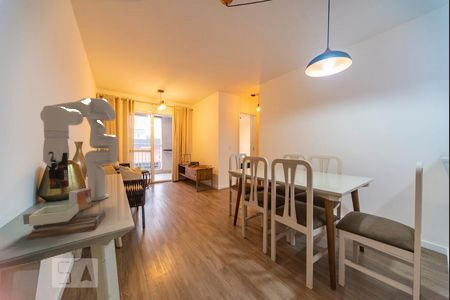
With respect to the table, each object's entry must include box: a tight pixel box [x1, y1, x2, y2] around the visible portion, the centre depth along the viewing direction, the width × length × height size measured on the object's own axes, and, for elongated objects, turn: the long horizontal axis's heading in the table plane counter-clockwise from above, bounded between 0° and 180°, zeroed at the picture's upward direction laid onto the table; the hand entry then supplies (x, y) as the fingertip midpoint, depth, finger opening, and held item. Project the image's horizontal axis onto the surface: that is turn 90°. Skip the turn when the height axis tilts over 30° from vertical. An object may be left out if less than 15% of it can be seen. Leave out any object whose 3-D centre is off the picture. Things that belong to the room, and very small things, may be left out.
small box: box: [68, 187, 92, 212], centre depth 93 cm, size 8×6×10 cm
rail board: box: [25, 209, 106, 241], centre depth 75 cm, size 14×22×4 cm, turn 112°
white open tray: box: [22, 203, 80, 229], centre depth 72 cm, size 10×15×6 cm, turn 112°
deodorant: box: [48, 153, 70, 190], centre depth 72 cm, size 6×6×15 cm
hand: (58, 176), depth 72 cm, fingers closed on deodorant, 5 cm apart
